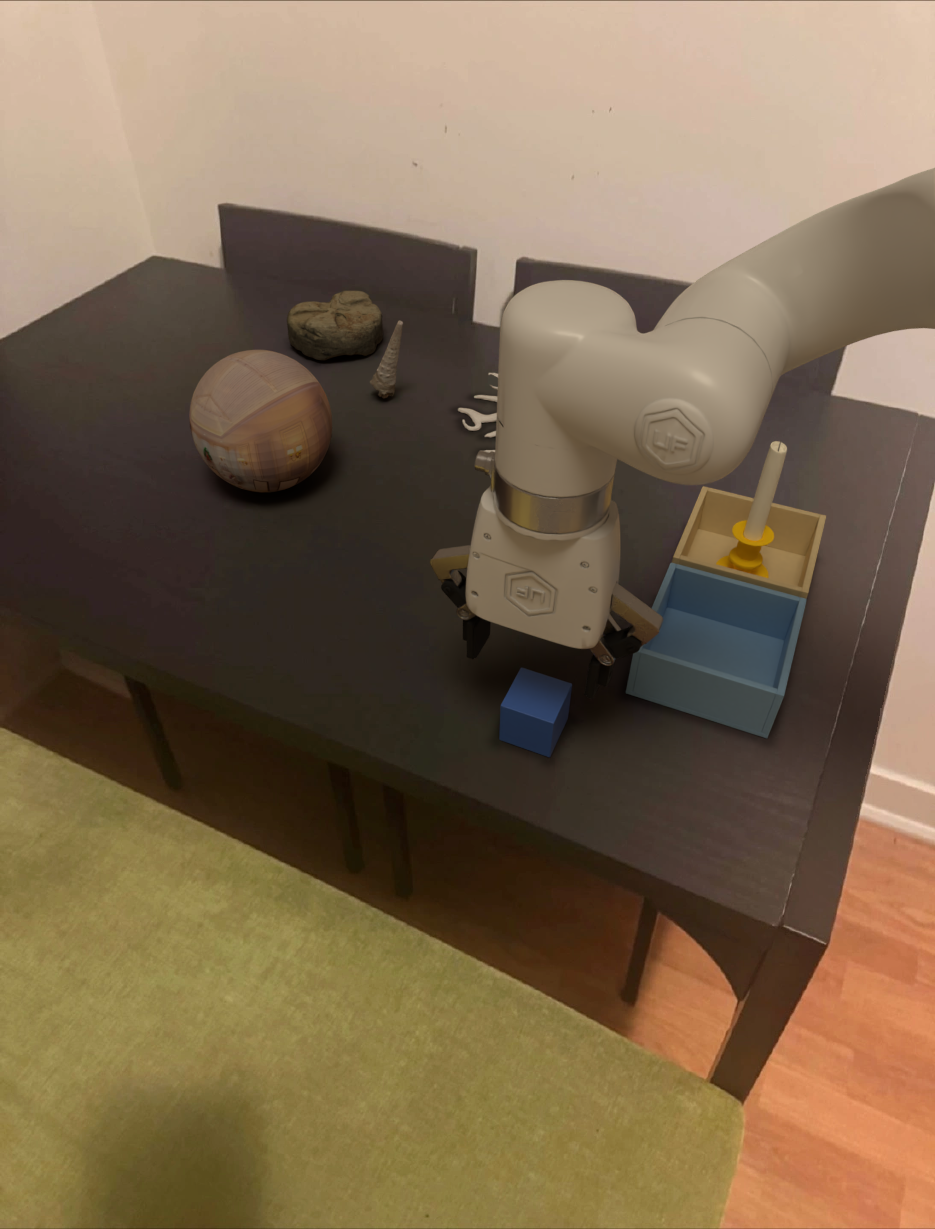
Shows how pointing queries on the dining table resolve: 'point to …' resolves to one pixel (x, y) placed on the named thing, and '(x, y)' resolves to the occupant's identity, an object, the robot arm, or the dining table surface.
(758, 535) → the candle
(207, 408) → the ornament
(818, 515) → the cream bin
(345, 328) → the stone
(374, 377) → the seashell
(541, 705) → the blue block
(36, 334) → the dining table surface
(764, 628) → the blue bin
